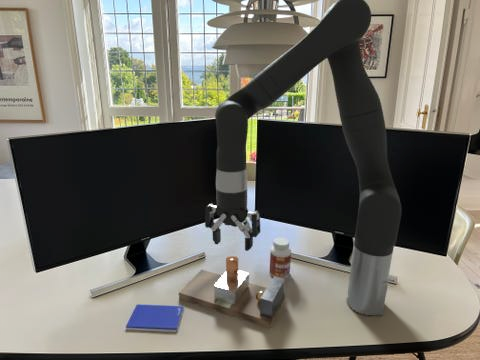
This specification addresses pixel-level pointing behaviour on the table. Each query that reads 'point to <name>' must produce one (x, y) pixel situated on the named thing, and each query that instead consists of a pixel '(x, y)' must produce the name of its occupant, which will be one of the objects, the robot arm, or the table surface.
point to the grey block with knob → (271, 297)
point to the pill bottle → (280, 258)
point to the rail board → (245, 308)
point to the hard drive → (155, 318)
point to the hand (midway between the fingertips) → (232, 246)
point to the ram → (231, 282)
